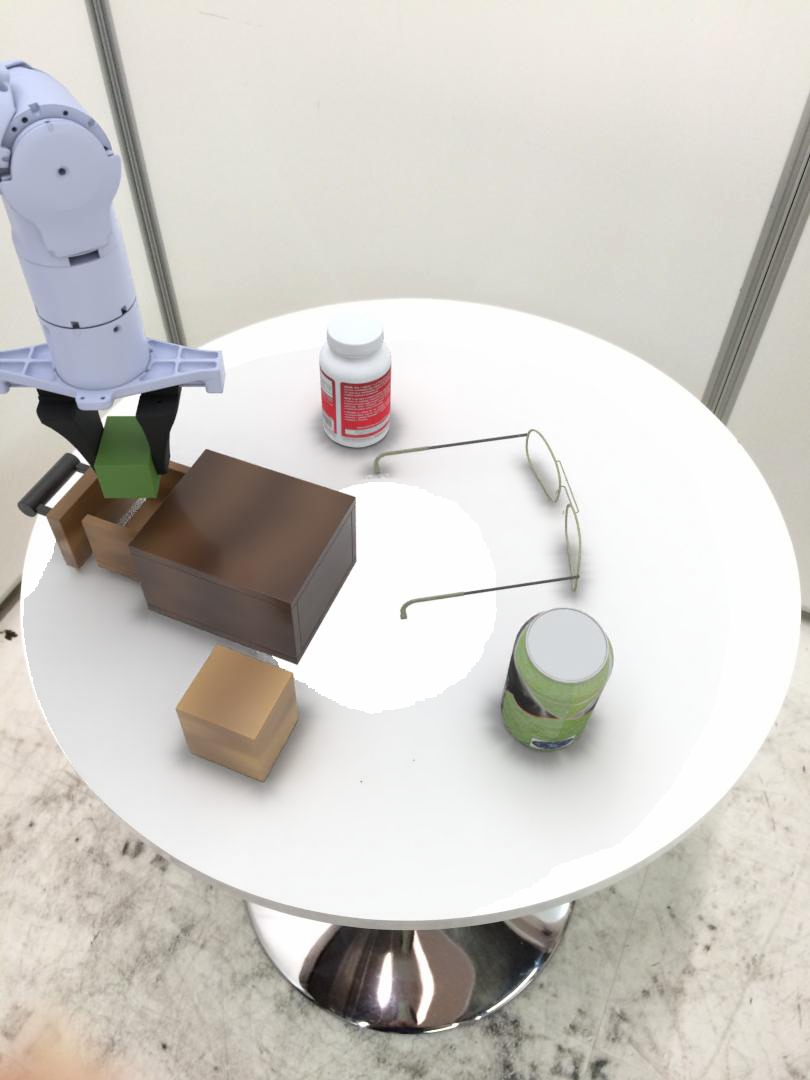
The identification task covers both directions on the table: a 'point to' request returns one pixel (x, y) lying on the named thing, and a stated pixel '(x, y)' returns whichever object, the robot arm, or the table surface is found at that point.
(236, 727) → the wooden block
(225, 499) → the cabinet
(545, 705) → the beverage can
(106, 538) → the drawer
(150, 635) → the table surface
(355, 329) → the pill bottle
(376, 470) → the eyeglasses
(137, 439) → the matte green cuboid
